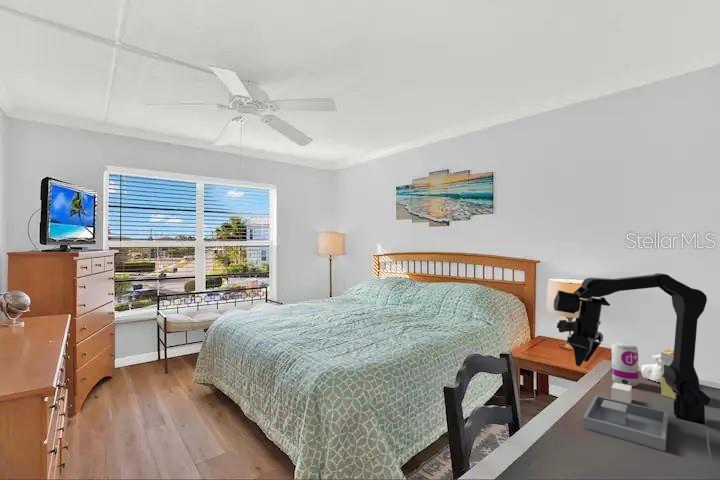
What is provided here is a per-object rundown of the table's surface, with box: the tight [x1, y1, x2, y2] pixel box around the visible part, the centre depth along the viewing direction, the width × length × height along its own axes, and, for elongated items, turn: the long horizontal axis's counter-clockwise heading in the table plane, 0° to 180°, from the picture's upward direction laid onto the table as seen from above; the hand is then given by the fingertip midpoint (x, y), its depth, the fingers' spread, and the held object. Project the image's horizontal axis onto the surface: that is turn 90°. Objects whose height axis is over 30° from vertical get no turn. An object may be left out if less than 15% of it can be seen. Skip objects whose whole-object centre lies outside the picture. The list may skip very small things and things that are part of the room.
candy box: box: [660, 347, 676, 400], centre depth 125 cm, size 9×4×15 cm, turn 119°
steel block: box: [601, 400, 628, 426], centre depth 107 cm, size 6×6×4 cm
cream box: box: [610, 381, 633, 404], centre depth 121 cm, size 5×6×5 cm
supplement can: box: [610, 340, 640, 387], centre depth 136 cm, size 8×8×15 cm
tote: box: [582, 395, 669, 452], centre depth 104 cm, size 18×20×4 cm
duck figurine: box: [640, 353, 661, 384], centre depth 138 cm, size 12×8×11 cm
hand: (581, 363), depth 116 cm, fingers open, 9 cm apart
